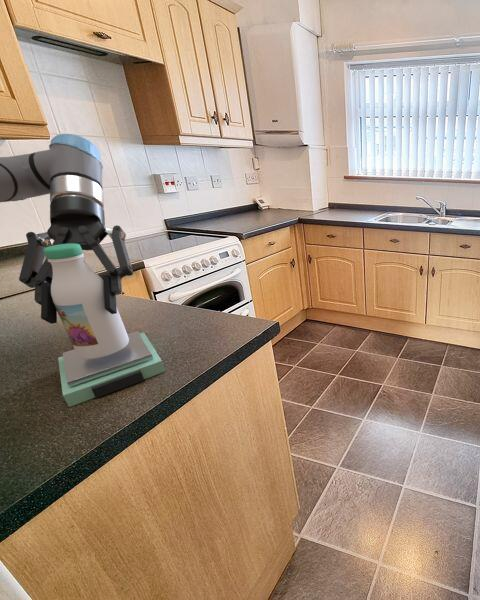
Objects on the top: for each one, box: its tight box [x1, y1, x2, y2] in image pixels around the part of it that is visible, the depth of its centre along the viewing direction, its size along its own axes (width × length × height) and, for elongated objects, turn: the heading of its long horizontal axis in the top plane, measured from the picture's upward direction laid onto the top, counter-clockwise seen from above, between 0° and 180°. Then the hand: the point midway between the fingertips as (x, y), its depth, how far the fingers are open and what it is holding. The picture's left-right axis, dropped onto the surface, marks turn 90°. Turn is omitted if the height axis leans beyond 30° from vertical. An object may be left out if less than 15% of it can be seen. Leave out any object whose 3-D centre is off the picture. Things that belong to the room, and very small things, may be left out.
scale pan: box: [62, 330, 153, 387], centre depth 65 cm, size 13×12×1 cm
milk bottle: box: [43, 243, 129, 359], centre depth 60 cm, size 8×8×20 cm
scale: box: [57, 332, 166, 408], centre depth 65 cm, size 17×14×2 cm
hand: (80, 315), depth 58 cm, fingers closed on milk bottle, 8 cm apart
